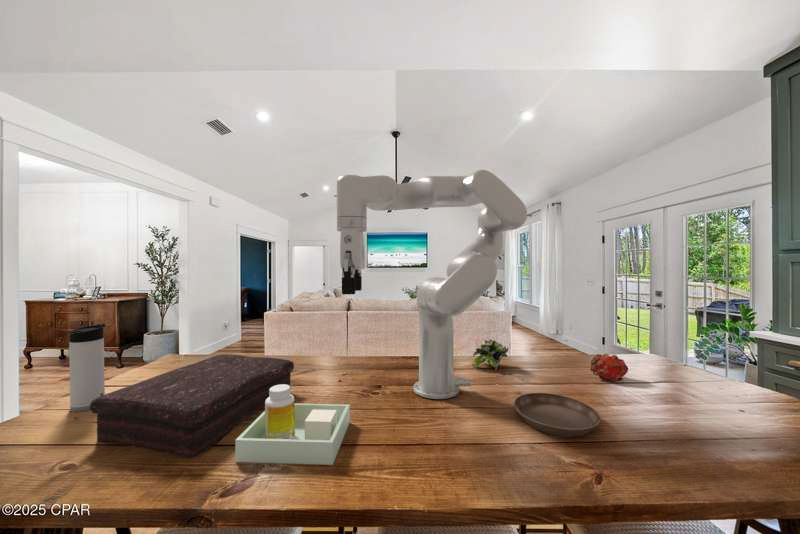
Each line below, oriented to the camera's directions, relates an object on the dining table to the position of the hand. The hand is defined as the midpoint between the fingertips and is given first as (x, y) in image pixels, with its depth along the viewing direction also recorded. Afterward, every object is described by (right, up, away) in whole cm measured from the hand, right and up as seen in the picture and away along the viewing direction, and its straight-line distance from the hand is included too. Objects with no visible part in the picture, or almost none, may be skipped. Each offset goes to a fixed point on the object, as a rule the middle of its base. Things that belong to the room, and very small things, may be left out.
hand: (352, 292), depth 85 cm
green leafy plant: (+43, -28, +28) cm, 59 cm away
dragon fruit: (+77, -28, +17) cm, 84 cm away
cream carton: (-3, -28, -19) cm, 34 cm away
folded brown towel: (-33, -29, -6) cm, 45 cm away
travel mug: (-65, -28, -3) cm, 71 cm away
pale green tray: (-8, -29, -19) cm, 35 cm away
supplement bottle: (-12, -28, -19) cm, 36 cm away
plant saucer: (+48, -29, -10) cm, 56 cm away
